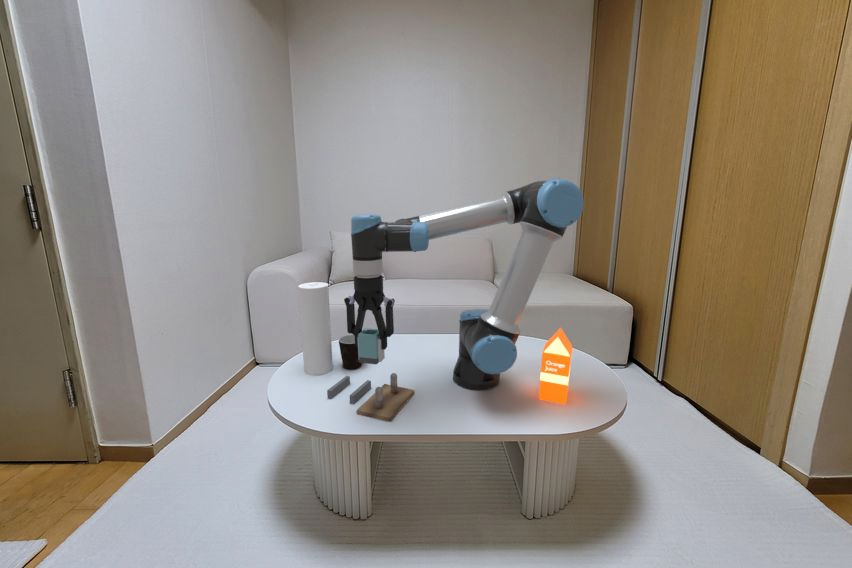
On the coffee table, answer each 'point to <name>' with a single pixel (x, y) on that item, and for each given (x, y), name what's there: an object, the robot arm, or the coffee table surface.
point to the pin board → (386, 401)
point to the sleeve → (368, 346)
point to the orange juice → (555, 368)
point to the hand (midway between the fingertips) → (371, 358)
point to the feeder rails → (344, 383)
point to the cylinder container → (315, 327)
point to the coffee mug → (349, 352)
